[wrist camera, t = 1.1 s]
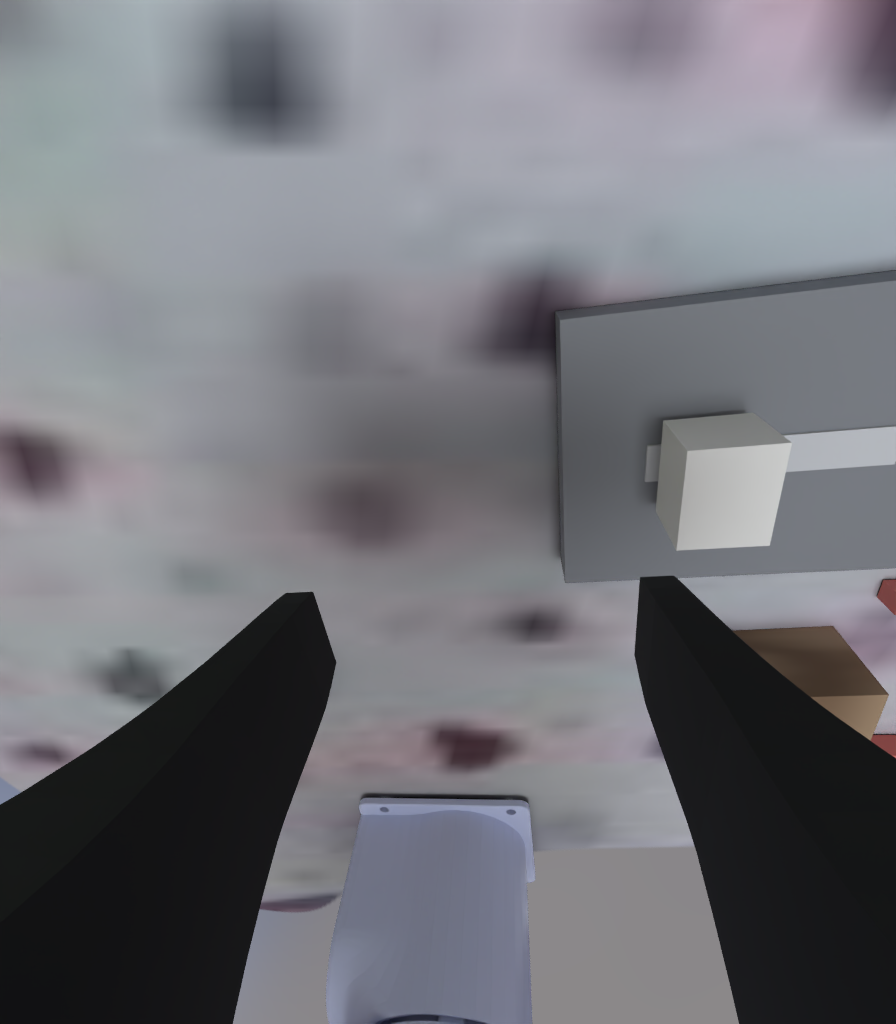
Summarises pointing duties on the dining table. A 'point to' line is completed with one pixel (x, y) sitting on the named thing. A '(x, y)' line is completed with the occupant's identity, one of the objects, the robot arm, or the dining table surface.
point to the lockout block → (823, 671)
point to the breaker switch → (720, 481)
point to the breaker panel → (726, 391)
